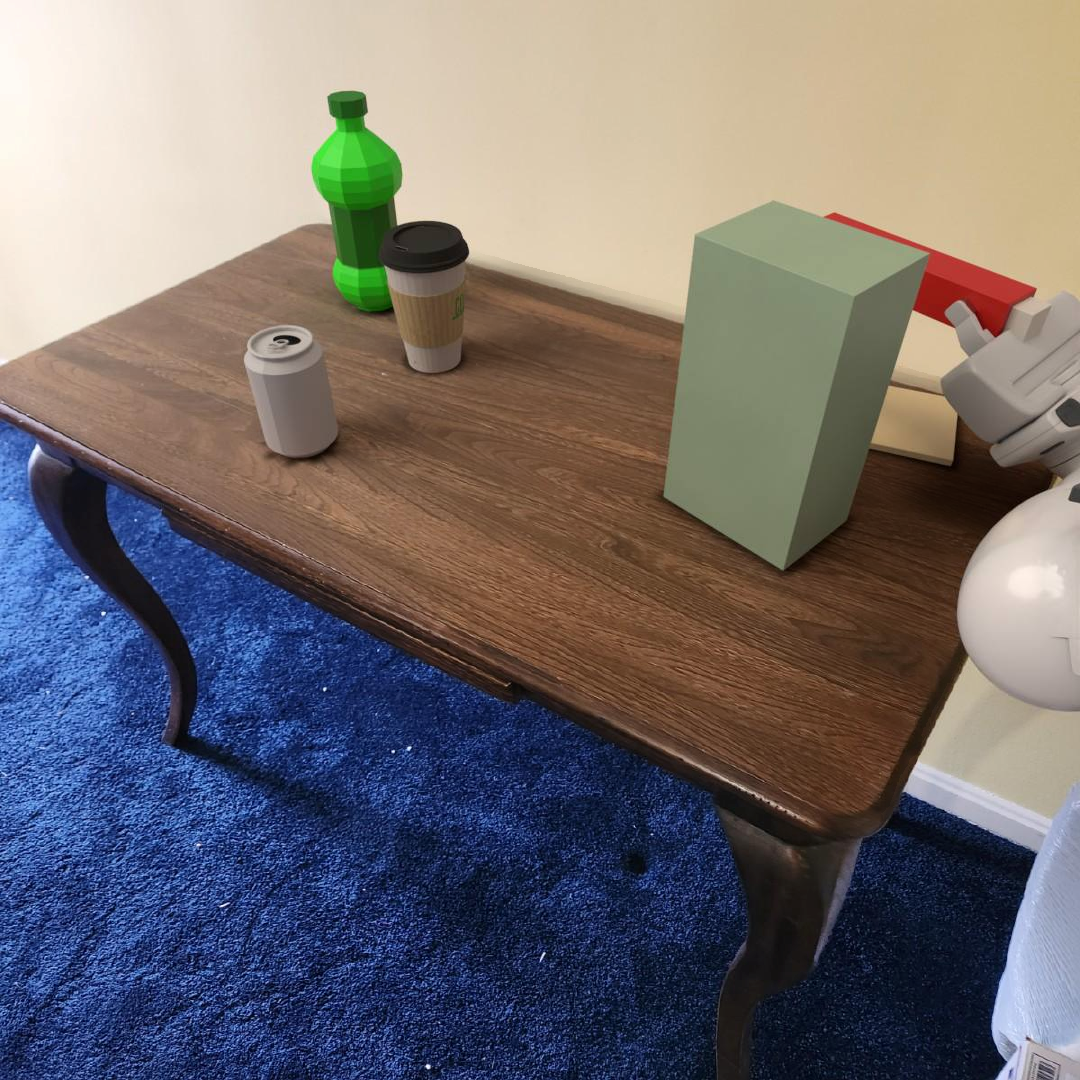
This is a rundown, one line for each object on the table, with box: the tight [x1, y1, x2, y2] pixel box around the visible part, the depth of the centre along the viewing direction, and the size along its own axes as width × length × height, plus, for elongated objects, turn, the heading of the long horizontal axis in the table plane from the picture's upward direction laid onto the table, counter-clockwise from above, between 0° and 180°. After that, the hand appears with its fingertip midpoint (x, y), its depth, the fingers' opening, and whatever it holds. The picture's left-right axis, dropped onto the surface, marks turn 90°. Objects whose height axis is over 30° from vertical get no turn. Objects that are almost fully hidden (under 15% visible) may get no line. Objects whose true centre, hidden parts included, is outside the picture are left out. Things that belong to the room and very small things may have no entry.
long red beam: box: [823, 211, 1052, 342], centre depth 82 cm, size 24×4×4 cm, turn 38°
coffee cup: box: [379, 220, 470, 374], centre depth 97 cm, size 10×10×15 cm
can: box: [243, 324, 339, 459], centre depth 86 cm, size 8×8×12 cm
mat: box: [869, 385, 959, 467], centre depth 93 cm, size 20×12×1 cm, turn 67°
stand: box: [662, 200, 930, 572], centre depth 73 cm, size 14×10×26 cm
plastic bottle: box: [310, 90, 403, 313], centre depth 105 cm, size 10×10×25 cm
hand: (969, 293), depth 78 cm, fingers closed on long red beam, 4 cm apart
